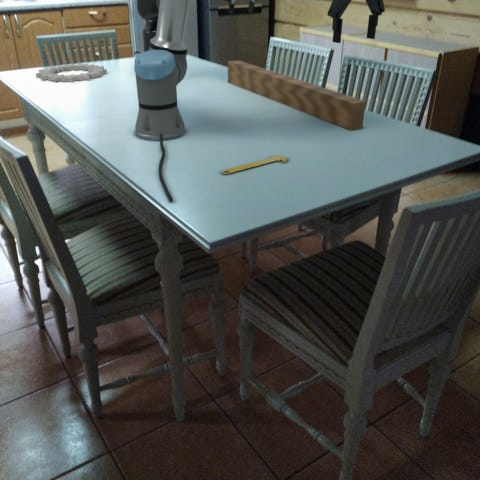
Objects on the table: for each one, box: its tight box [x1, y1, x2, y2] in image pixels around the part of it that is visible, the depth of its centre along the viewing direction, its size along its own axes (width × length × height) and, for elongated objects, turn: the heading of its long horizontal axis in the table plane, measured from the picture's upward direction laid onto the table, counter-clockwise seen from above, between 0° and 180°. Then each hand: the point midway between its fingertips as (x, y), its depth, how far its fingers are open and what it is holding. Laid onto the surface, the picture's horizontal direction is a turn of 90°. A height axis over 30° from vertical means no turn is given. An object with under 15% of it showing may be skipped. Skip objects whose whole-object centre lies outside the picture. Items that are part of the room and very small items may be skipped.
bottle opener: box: [221, 155, 288, 175], centre depth 136 cm, size 5×1×20 cm
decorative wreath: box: [35, 63, 108, 83], centre depth 230 cm, size 30×2×30 cm
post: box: [227, 59, 367, 131], centre depth 189 cm, size 76×5×8 cm, turn 32°
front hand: (353, 40), depth 154 cm, fingers open, 13 cm apart
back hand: (241, 13), depth 201 cm, fingers open, 8 cm apart
